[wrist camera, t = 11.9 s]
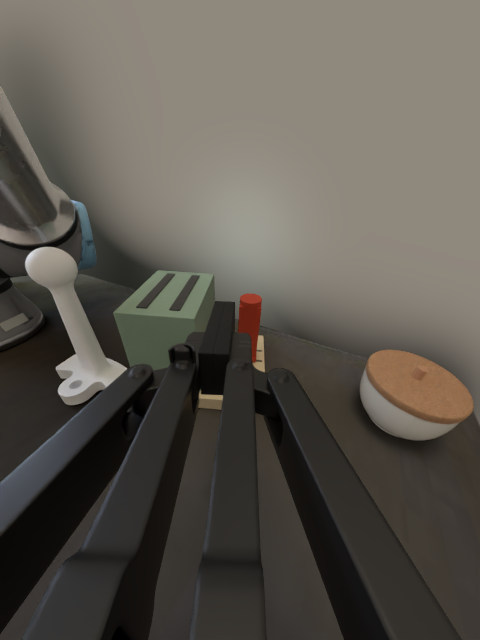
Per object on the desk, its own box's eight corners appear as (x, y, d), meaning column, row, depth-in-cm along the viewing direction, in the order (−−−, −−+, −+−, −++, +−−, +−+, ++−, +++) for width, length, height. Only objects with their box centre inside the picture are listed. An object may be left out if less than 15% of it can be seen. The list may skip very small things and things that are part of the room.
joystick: (140, 378, 35) (102, 249, 24) (99, 420, 29) (24, 272, 18) (86, 359, 37) (30, 236, 27) (38, 393, 31) (-59, 253, 20)
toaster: (264, 413, 30) (279, 329, 23) (132, 402, 31) (102, 315, 23) (262, 342, 44) (271, 272, 36) (169, 334, 44) (158, 265, 36)
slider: (255, 363, 35) (262, 304, 29) (235, 361, 35) (238, 302, 30) (255, 350, 38) (262, 294, 32) (237, 349, 38) (240, 292, 32)
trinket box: (431, 406, 33) (470, 359, 28) (443, 476, 25) (500, 429, 20) (354, 376, 37) (375, 331, 32) (343, 427, 29) (369, 378, 24)
